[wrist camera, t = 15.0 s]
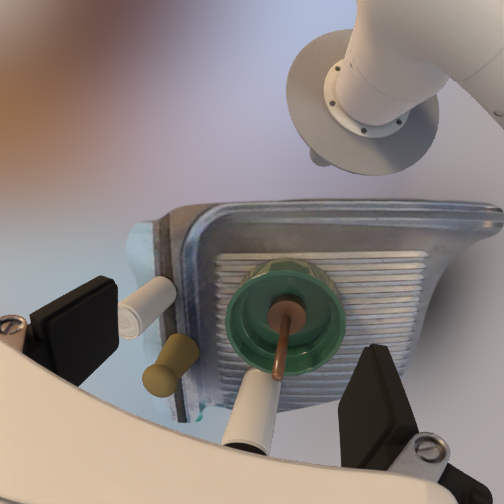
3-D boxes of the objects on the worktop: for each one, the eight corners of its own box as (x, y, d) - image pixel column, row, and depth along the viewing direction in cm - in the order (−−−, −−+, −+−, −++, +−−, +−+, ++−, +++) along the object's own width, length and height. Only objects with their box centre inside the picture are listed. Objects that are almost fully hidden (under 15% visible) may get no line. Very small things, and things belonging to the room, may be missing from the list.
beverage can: (183, 298, 44) (146, 336, 33) (159, 307, 46) (120, 343, 34) (169, 270, 44) (127, 301, 32) (145, 280, 45) (102, 311, 33)
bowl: (245, 246, 41) (235, 257, 35) (353, 270, 39) (361, 286, 33) (228, 339, 45) (218, 360, 39) (323, 361, 43) (324, 384, 37)
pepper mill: (179, 326, 46) (148, 363, 35) (206, 351, 46) (182, 393, 36) (160, 345, 48) (129, 382, 37) (186, 369, 48) (160, 409, 37)
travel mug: (235, 379, 47) (200, 472, 27) (260, 358, 45) (232, 456, 26) (263, 399, 47) (240, 493, 28) (289, 379, 45) (275, 479, 26)
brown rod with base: (273, 289, 41) (255, 351, 26) (310, 298, 40) (311, 363, 25) (266, 322, 42) (245, 392, 27) (300, 330, 41) (296, 403, 26)
